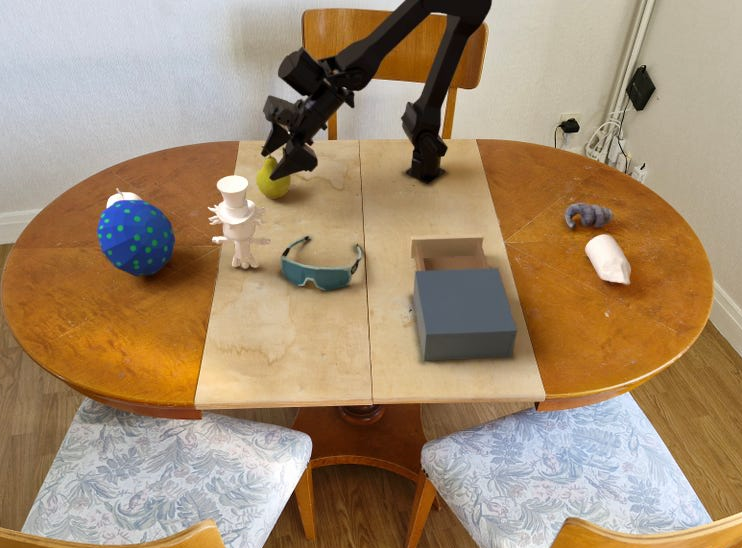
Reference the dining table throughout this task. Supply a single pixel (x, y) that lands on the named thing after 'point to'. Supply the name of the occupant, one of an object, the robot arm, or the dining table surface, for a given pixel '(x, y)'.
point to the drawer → (448, 252)
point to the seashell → (588, 215)
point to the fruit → (266, 184)
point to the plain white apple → (122, 197)
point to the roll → (608, 259)
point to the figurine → (238, 219)
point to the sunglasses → (317, 271)
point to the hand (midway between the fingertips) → (266, 167)
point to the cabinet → (463, 314)
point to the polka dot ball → (136, 237)
